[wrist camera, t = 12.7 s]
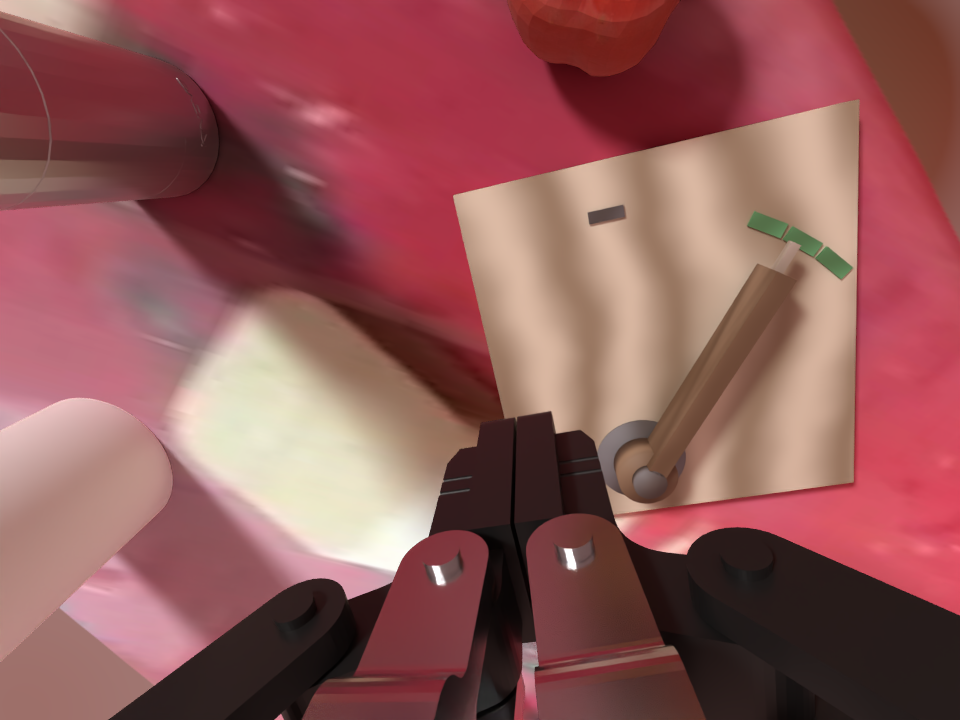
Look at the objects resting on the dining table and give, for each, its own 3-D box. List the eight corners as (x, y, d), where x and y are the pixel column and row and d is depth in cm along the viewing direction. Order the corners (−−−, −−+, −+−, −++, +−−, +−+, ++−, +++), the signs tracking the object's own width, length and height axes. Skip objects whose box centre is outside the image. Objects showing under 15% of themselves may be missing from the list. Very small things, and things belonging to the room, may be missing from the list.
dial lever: (603, 473, 42) (609, 496, 39) (753, 225, 34) (775, 231, 31) (652, 493, 42) (662, 518, 39) (811, 252, 35) (838, 260, 32)
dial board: (529, 515, 46) (529, 527, 45) (455, 194, 37) (452, 195, 35) (842, 471, 42) (855, 483, 41) (845, 102, 33) (861, 98, 32)
